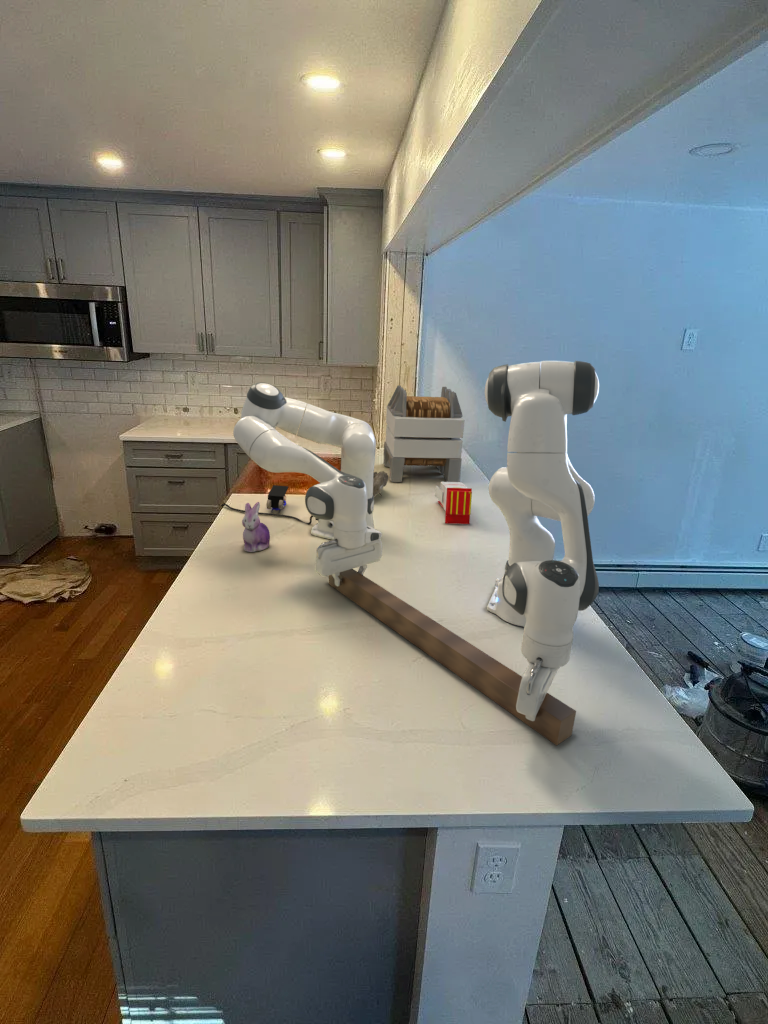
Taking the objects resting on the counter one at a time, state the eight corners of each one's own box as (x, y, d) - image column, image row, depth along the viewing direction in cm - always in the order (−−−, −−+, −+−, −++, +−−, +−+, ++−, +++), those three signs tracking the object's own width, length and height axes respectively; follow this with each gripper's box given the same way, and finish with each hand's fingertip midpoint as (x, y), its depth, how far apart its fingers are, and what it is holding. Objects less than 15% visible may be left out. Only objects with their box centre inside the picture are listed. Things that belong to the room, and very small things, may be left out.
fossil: (357, 477, 248) (384, 458, 243) (370, 494, 251) (397, 476, 246) (349, 498, 228) (379, 478, 223) (364, 515, 231) (393, 496, 226)
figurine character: (284, 518, 213) (289, 501, 226) (283, 500, 209) (288, 484, 223) (266, 517, 212) (272, 500, 226) (265, 499, 209) (271, 483, 223)
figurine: (246, 555, 177) (244, 510, 172) (238, 543, 186) (236, 499, 181) (275, 550, 181) (274, 506, 176) (266, 539, 190) (265, 496, 185)
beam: (328, 583, 162) (328, 566, 160) (342, 579, 164) (342, 562, 163) (556, 745, 105) (561, 721, 103) (571, 735, 108) (576, 711, 106)
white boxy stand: (382, 463, 289) (386, 382, 275) (445, 464, 293) (451, 384, 279) (390, 482, 257) (394, 392, 243) (460, 483, 261) (468, 394, 247)
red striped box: (463, 477, 236) (476, 489, 206) (461, 509, 239) (474, 525, 209) (433, 476, 235) (443, 488, 206) (432, 508, 238) (441, 524, 209)
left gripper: (323, 548, 144) (323, 596, 149) (386, 532, 156) (384, 577, 161) (310, 539, 149) (310, 587, 153) (372, 525, 161) (371, 569, 165)
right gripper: (548, 681, 96) (537, 746, 100) (575, 627, 113) (564, 685, 117) (512, 669, 99) (503, 733, 103) (543, 618, 115) (534, 675, 120)
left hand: (348, 581), depth 157 cm, fingers open, 5 cm apart
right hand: (536, 707), depth 110 cm, fingers closed on beam, 6 cm apart
